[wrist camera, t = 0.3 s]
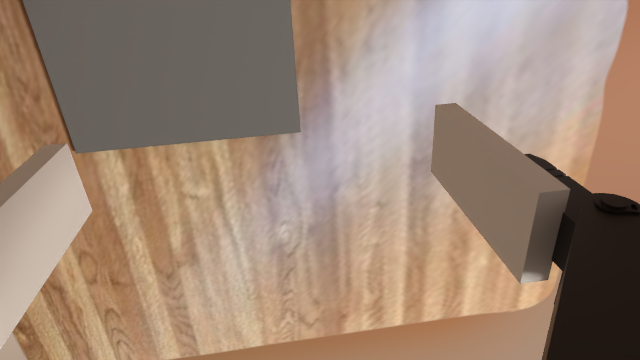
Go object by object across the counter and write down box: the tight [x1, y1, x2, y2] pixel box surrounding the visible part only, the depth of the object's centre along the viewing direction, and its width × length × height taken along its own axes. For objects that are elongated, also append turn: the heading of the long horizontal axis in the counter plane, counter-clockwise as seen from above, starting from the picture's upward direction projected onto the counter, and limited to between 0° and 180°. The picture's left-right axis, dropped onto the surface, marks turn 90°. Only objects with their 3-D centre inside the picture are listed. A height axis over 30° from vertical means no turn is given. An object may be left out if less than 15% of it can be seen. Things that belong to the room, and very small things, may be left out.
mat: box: [23, 0, 301, 153], centre depth 39 cm, size 17×22×1 cm
